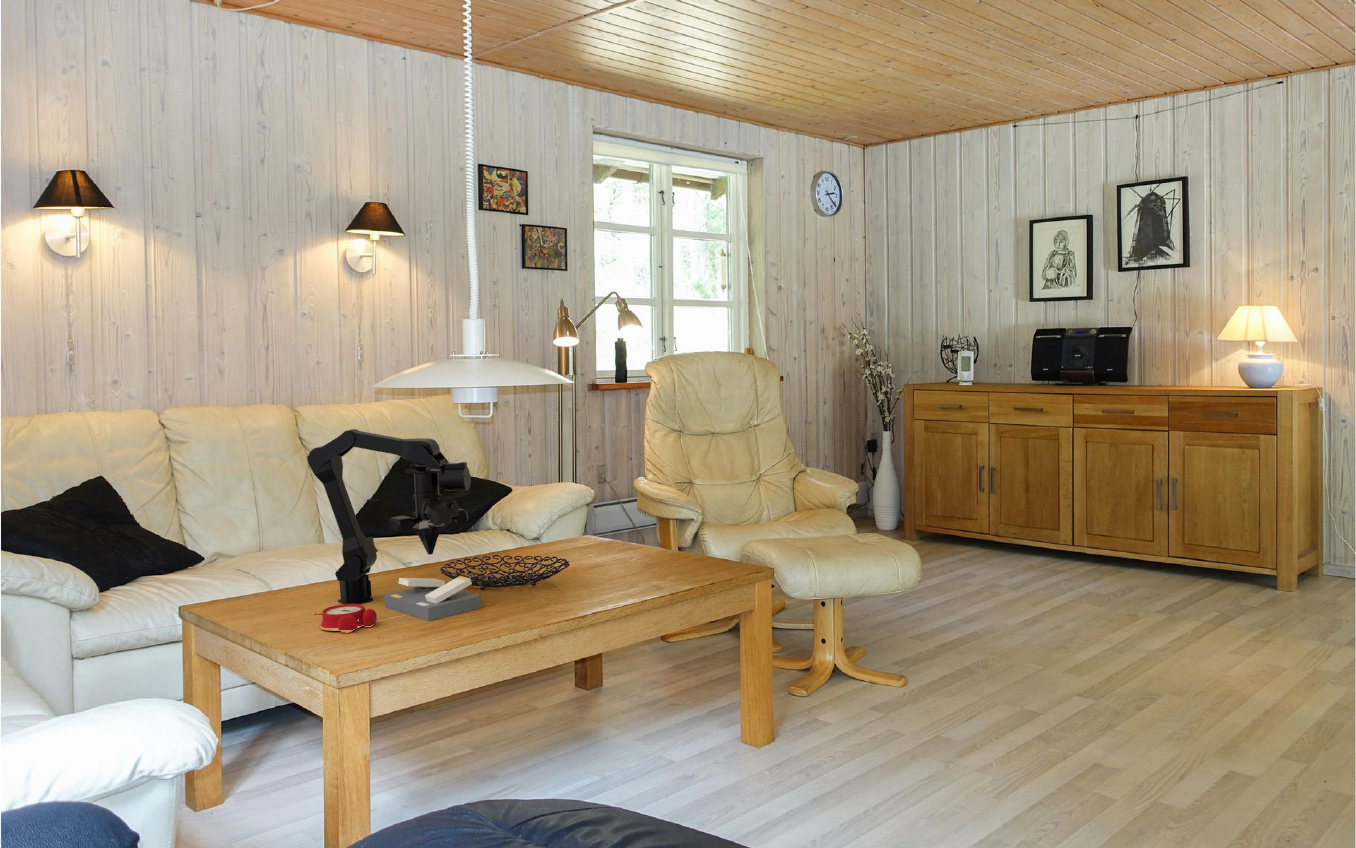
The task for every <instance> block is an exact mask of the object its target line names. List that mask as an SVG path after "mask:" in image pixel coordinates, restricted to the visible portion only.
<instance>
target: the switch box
mask: <svg viewBox="0 0 1356 848" xmlns="http://www.w3.org/2000/svg"><path fill="white" fill-rule="evenodd" d="M438 588H439V587H424V586H413V588H407V589H403V590H399V591H394V592H391V593H387V594H384V595H383V596H384V607H385V608H386V609H390V610H393V611H396V612H399V613H403V614H406V615H409V616H412V617H414V616H416V617H415V618H417V617H418V618H417V619H421V618H422V619H421V620H424V621H427V622H430V621H434V620H438V619H443V618H446V617H450V616H454V615H458V614H459V615H460V614H463V613H465V612H470V611H475V610H477V609H481V608H482V604H481V603H482V600H481V599H482V598H481V595H480V594H477V593H473V592H470V591H466V590H463V589H462V590H460V591H458V592H457V593H455V594H453V595H451V596H450V597H448V598H446V599H444V600H443V601H441V602H439V603H437V604H436V603H433V602H429V601H427V600H426V597H425V595H427V594H429V593H430V592H432V591H434V590H436V589H438Z"/></svg>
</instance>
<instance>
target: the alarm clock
mask: <svg viewBox="0 0 1356 848" xmlns="http://www.w3.org/2000/svg"><path fill="white" fill-rule="evenodd" d="M317 615H318V616H319V615H320V616H321V617H322V620H321V623H320V625H321V626H322V627H324V628H338V629H339V630H353V629H355V630H357V629H356V628H357V626H362V625H364V626H371V625H373V624H374V625H376V622H377V619H378V618H377V611H375V609H373V608H366V607H365V606H364V605H363V604H362V603H359V604H343V603H341V604H337V605H336V604H335V605H332V606H328V607H326V608H324V609H323V610H322V611H321V613H316V612H315V613H314V616H317ZM358 619H359V621H357V620H358Z"/></svg>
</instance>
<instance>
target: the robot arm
mask: <svg viewBox="0 0 1356 848" xmlns="http://www.w3.org/2000/svg"><path fill="white" fill-rule="evenodd" d="M353 448H358V449H362V450H363V449H364V450H369V451H374V452H380V453H386V454H390V455H391V454H392V455H396V456H398V457H401V458H402V459H405V460H407V461H408V462H411V463H410V465H409V466H408V468H406V470H404V473H405V474H413V479H414V483H413V484H414V494H413V495H412V500H415V511H413V517H411V516H407V515H399V516H398V515H397V516H391V517H390V518H389V519H388V521H387V527H388V528H387V529H388V530H391V531H395V532H406V531H411V530H412V531H415V533H416V535H417V537H418V538H419V540H420V542H421V543H422V546H423V548H424V549H425V550H424V551H426V554H427V555H429V556H430V555H433V554H434V551H435V548H436V544H437V541H438V538H439V536H440V533H441V532H442V531H443V530H444V529H446V528H447V527H448V525H449V524H451V523H452V520H454V521H455V522H456V523H462V522H468V519H469V518H468V517H469V515H468V512H467V510H465V509H463V508H459V503H458V502H457V501H449V502H448V503H445V502H444V498H443V494H440V488H442V489H443V490H444V491H445V492H446V491H453V492H454V491H469V490H470V488H471V483H472V482H471V481H472V476H471V472H470V469H469V466H468V462H467V461H461V462H451V463H450V461H449V460H448V459H447V458H446V456H445V455H444V454H443V452H441V450H440V446H439V444H438V442H437V441H436V440H435V439H432V438H423V437H421V438H419V437H418V438H400V437H394V436H389V435H383V434H379V433H378V434H377V433H373V432H366V431H361V430H358V429H356V428H352V429H348V430H345V431H343V432H342V433H341V434H340V435H339V436H337V437H335V438H334V439H332V440H331V441H329V442H327V443H326V444H324V445H321V446H317V447H314V448H313V449H311V450H310V451H309V453H308V455H307V457H306V458H307V459H306V460H307V464H308V465H309V468H310V469H311V471H312V473H313V475H314V477H316V478H317V480H318V481H320V482H321V484H322V485H323V487H324V490H325V493H326V495H327V499H328V502H329V504H330V507H331V510H332V513H333V517H334V518H335V521H336V524H337V526H338V530H339V532H340V535H341V537H342V538H341V539H342V548H341V549H342V550H341V553H342V558H343V563H342V565H341V566H340V567H339V568H338V569H337V570H336V571H335V573H334V575H335V577H336V580H337V581H338V583H339V593H340V594H339V596H340V599H337V602H338V603H341V604H362V603H363V604H364V603H368V602H371V601H374V597H372V596H373V595H372V594H373V593H372V581H371V580H370V578H369V577H370V576H369V573H370V571H371V568H372V567H373V566H374V564H375V563H376V561H377V559H378V557H377V556H378V555H377V553H378V552H379V549H378V548H377V547H376V546H375V541H374V540H375V539H374V537H373V535H372V536H369V537H367V536H365V534H364V533H363V532H362V530H361V527H360V524H359V521H358V519H357V515H356V512H355V510H354V508H353V505H352V501H351V499H350V496H349V493H348V490H347V488H346V485H345V482H344V479H343V478H344V477H343V476H344V475H343V472H344V463H343V457H344V456H345V455H347V454H348V453H349V452H350V451H351V450H352V449H353ZM447 524H448V525H447Z"/></svg>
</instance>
